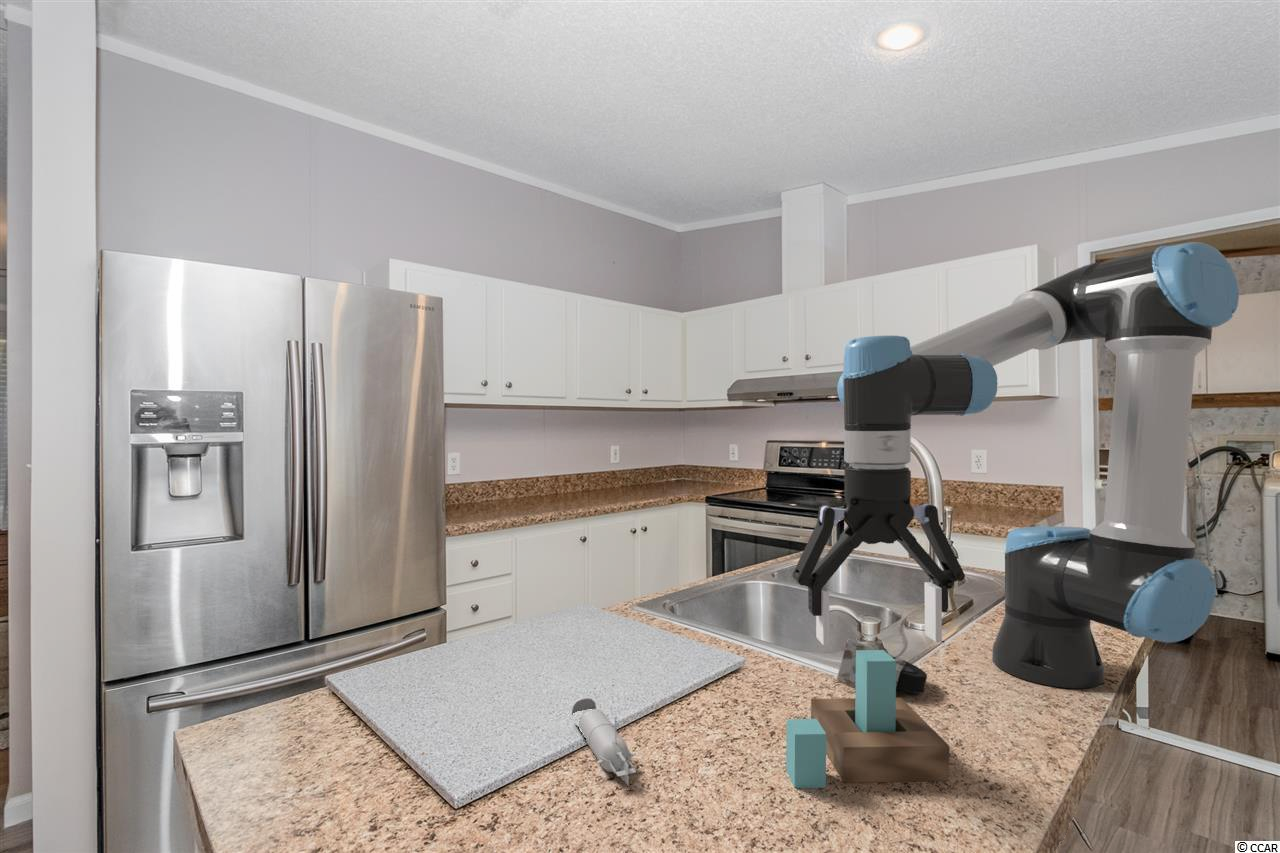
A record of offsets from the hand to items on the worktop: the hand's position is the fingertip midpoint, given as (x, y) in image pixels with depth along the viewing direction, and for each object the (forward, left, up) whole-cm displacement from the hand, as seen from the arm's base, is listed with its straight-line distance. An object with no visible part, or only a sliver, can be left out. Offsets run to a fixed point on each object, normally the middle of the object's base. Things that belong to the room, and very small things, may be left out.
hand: (878, 640), depth 77 cm
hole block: (0, 0, -14) cm, 14 cm away
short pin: (+10, +5, -14) cm, 18 cm away
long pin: (0, 0, -14) cm, 14 cm away
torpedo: (+34, -2, -14) cm, 37 cm away
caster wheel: (-9, -19, -14) cm, 25 cm away
